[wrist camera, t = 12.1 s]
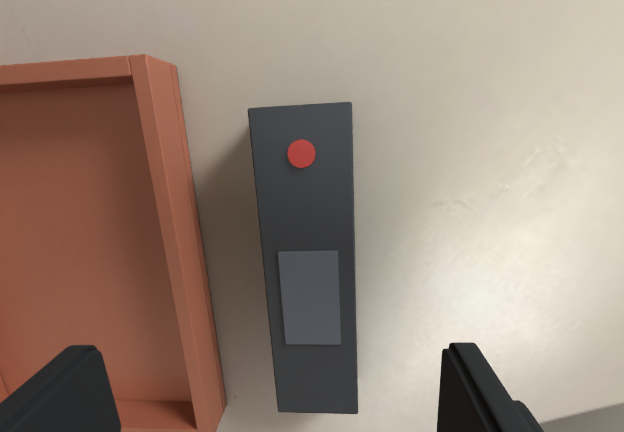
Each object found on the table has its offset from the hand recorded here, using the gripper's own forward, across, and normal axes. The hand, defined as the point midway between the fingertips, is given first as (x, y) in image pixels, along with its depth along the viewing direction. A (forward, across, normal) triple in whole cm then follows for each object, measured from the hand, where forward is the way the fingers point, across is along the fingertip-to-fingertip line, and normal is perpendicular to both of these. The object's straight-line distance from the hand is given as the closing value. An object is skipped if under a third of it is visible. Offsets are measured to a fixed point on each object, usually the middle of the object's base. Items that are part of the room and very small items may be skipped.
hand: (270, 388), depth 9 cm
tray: (+10, +13, 0) cm, 17 cm away
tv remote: (+10, -1, 0) cm, 10 cm away
